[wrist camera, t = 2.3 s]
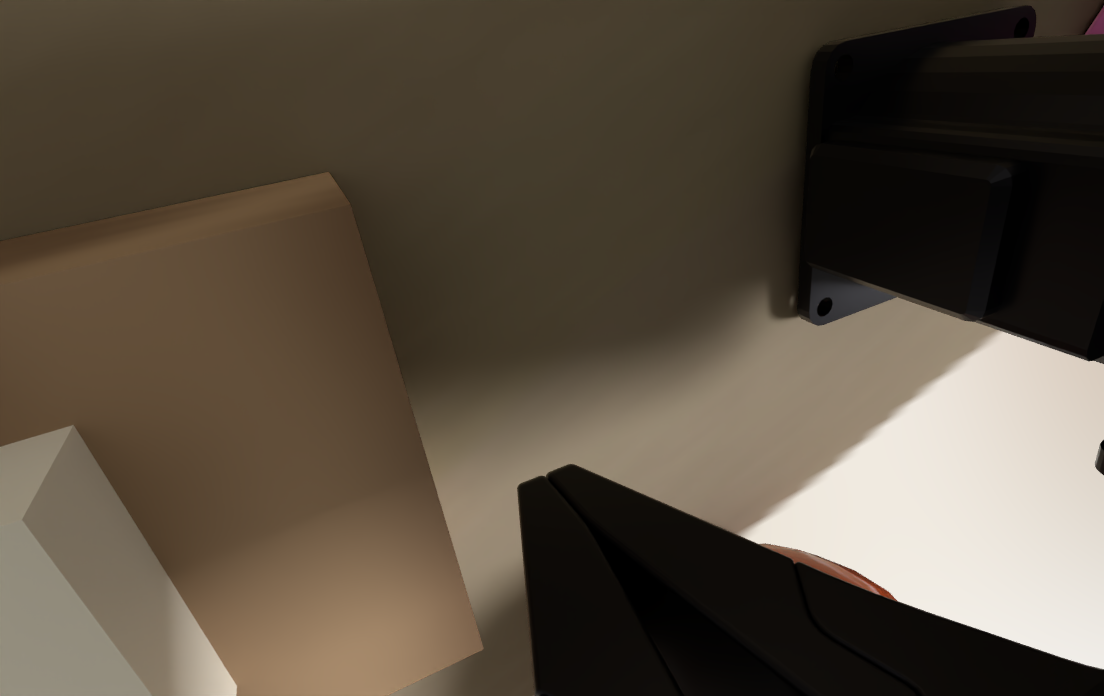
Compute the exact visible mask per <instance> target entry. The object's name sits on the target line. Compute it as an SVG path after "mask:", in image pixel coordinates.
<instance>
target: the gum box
mask: <svg viewBox="0 0 1104 696" xmlns="http://www.w3.org/2000/svg"><path fill="white" fill-rule="evenodd" d="M1089 34H1104V6H1103V8H1102V9H1101V11H1100V12H1099V14H1098V15H1097V17H1096V18H1095V20H1094V21H1093V23H1092V24H1091V26H1090V27H1089V29H1088V30H1087V32H1086V33H1085V35H1089Z"/></svg>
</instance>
